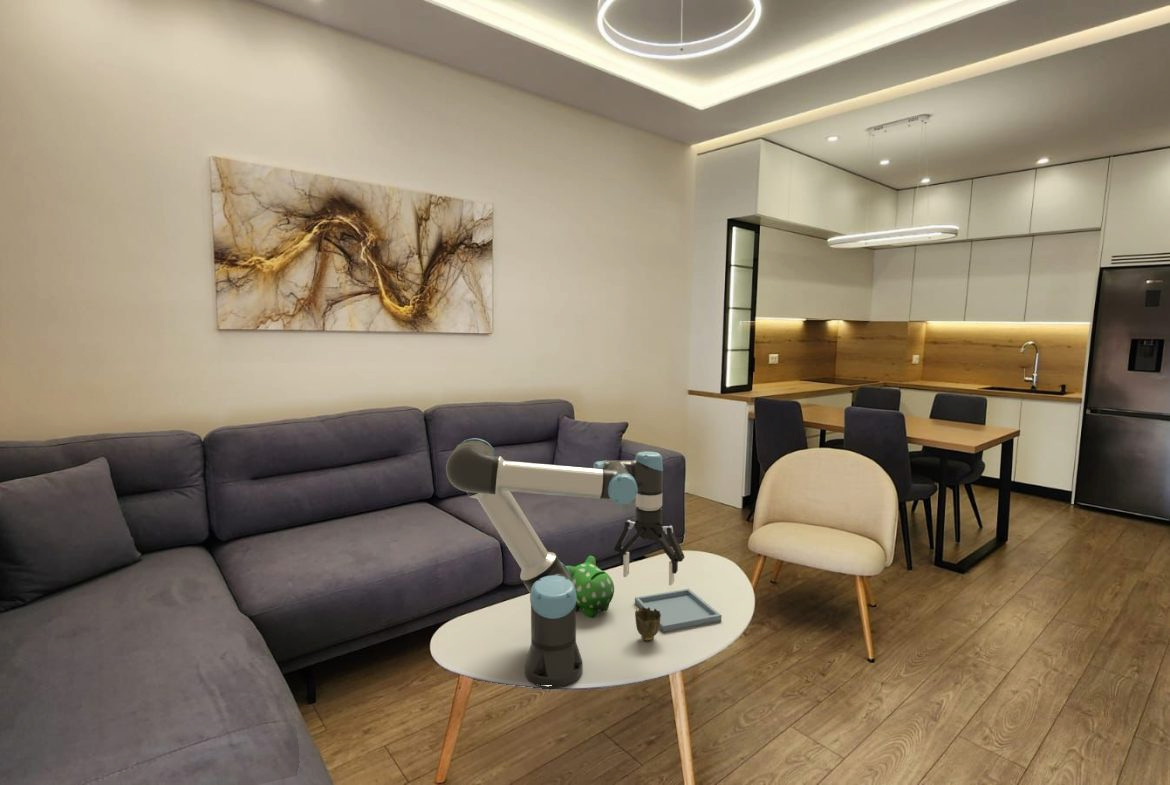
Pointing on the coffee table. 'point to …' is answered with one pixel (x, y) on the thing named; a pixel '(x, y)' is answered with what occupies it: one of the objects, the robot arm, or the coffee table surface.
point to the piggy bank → (591, 587)
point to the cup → (647, 623)
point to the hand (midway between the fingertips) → (648, 579)
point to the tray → (679, 609)
